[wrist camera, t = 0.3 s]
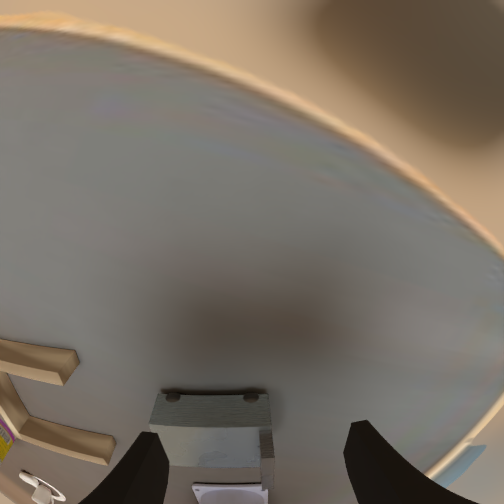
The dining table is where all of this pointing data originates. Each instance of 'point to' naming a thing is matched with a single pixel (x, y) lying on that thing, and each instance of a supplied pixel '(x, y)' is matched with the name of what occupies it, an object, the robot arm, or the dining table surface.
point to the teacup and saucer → (41, 490)
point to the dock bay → (37, 430)
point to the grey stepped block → (216, 431)
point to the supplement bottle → (5, 438)
